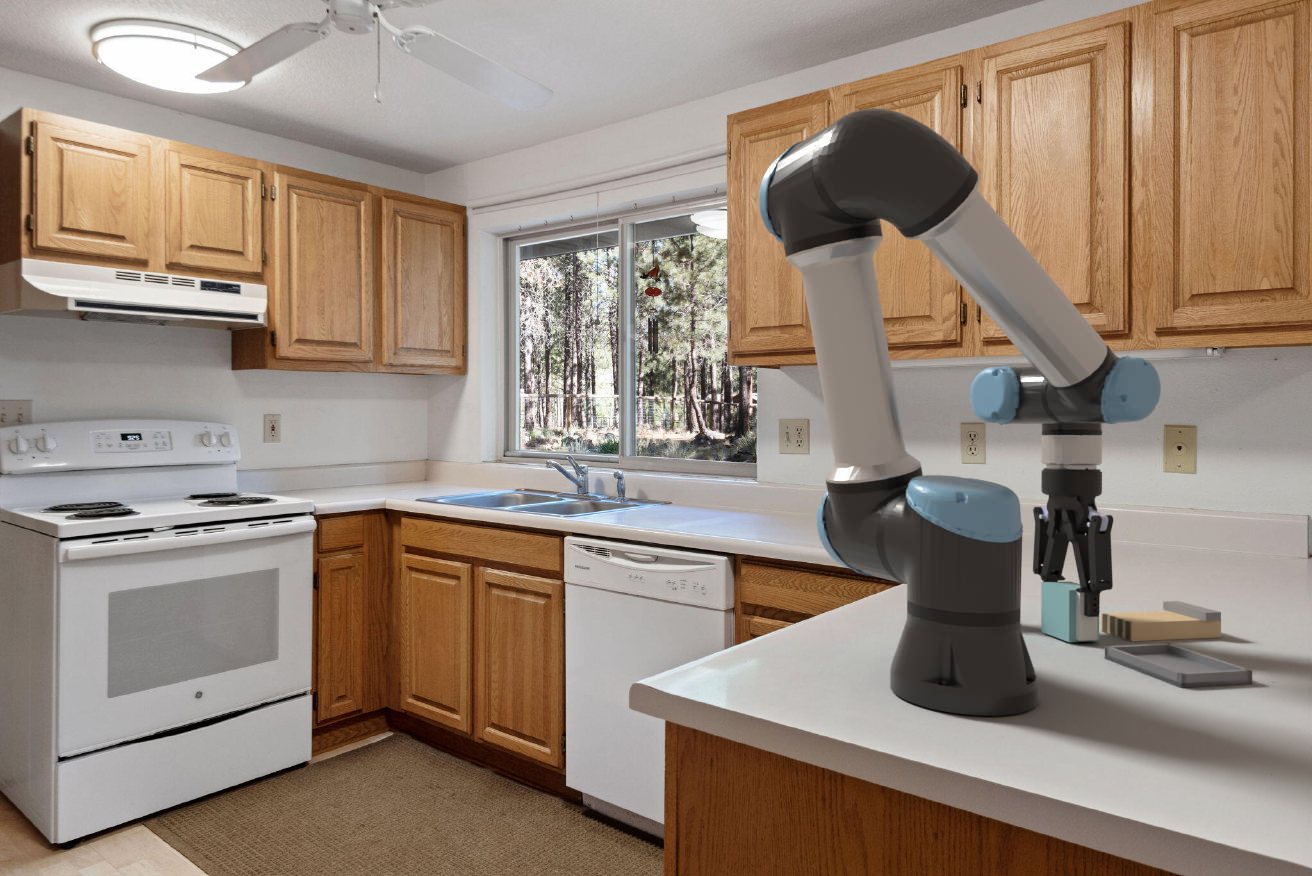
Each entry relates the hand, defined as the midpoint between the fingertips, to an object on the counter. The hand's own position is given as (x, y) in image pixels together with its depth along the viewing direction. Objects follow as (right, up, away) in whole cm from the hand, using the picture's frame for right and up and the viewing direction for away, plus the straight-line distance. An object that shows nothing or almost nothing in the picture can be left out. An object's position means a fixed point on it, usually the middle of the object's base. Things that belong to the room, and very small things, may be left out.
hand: (1070, 633), depth 115 cm
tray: (+5, -1, -15) cm, 16 cm away
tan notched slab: (+14, -1, +2) cm, 14 cm away
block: (0, 0, 0) cm, 0 cm away
